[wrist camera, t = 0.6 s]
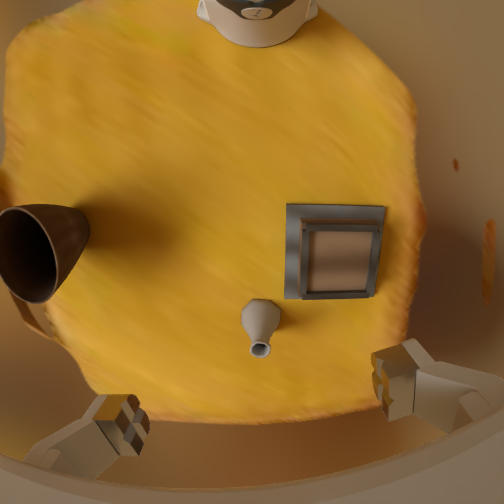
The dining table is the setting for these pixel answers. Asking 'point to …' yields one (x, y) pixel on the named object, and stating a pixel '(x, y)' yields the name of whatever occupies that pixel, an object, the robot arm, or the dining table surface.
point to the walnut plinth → (332, 250)
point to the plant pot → (40, 248)
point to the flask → (260, 325)
